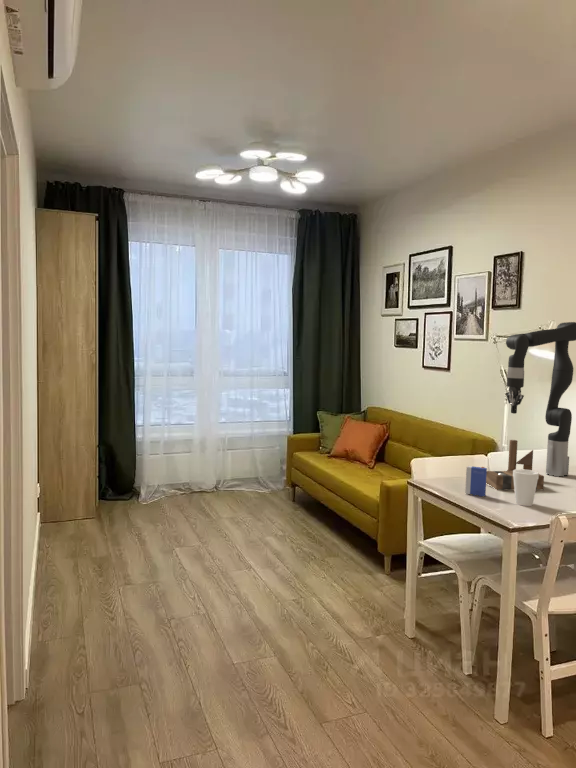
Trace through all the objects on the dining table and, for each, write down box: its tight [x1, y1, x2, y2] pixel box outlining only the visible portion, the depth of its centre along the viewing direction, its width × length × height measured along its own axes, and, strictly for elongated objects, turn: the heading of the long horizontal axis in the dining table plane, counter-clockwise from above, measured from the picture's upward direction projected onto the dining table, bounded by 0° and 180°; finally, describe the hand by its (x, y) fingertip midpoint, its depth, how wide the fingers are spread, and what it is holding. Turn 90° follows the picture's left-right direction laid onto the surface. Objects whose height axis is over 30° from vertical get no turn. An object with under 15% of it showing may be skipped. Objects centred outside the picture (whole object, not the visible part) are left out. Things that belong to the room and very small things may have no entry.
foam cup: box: [513, 468, 540, 507], centre depth 235 cm, size 10×9×13 cm
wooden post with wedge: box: [506, 439, 534, 471], centre depth 280 cm, size 4×11×18 cm, turn 60°
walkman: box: [464, 465, 488, 497], centre depth 247 cm, size 8×3×12 cm, turn 62°
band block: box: [486, 470, 545, 490], centre depth 263 cm, size 22×10×6 cm, turn 97°
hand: (513, 413), depth 280 cm, fingers closed
